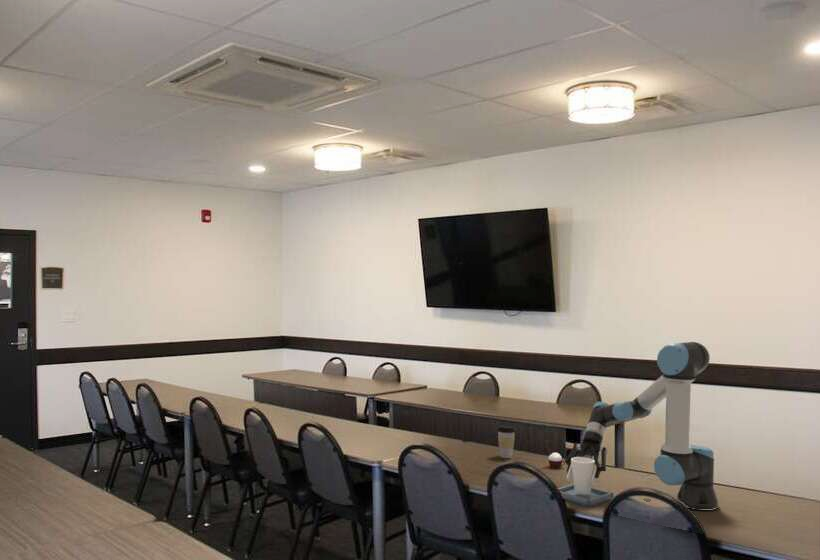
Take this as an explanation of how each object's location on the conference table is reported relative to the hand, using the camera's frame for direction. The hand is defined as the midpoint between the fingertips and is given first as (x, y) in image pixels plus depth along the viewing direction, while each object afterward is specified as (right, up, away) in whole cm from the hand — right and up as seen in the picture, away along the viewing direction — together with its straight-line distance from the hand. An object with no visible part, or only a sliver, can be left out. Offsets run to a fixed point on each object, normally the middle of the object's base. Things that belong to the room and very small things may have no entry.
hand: (580, 482), depth 275 cm
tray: (+2, -7, +3) cm, 8 cm away
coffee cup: (-20, -7, +66) cm, 70 cm away
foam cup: (+2, -5, +3) cm, 6 cm away
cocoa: (0, -7, +48) cm, 49 cm away
